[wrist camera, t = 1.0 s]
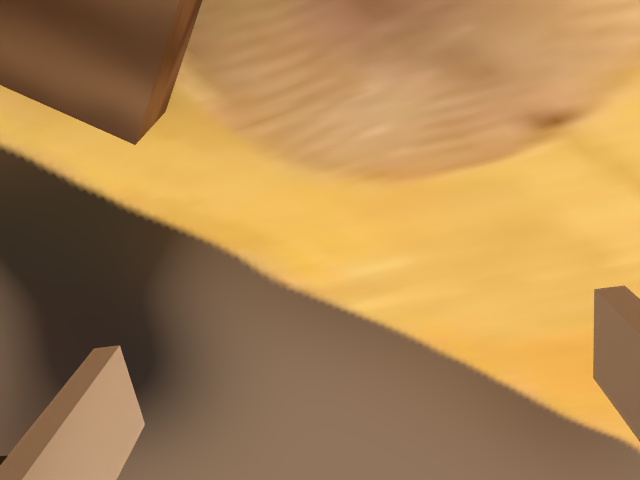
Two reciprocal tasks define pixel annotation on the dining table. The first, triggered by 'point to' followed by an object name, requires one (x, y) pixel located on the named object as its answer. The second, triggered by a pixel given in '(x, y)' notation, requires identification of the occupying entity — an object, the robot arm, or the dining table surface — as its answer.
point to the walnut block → (97, 57)
